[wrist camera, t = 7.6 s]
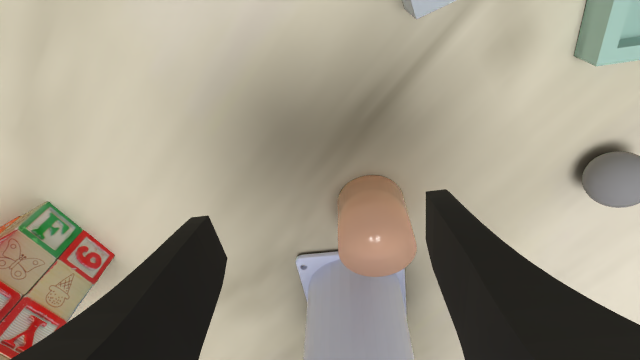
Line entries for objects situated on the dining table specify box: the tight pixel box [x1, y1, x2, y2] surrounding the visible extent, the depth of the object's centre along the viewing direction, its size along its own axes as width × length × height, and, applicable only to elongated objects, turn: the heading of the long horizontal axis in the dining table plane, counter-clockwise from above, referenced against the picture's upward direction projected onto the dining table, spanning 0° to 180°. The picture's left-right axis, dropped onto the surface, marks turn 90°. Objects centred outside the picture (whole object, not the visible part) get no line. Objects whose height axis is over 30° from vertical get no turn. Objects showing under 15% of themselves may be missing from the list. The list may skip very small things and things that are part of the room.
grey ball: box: [582, 151, 640, 208], centre depth 20 cm, size 3×3×3 cm
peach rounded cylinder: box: [338, 175, 417, 277], centre depth 22 cm, size 4×4×4 cm
